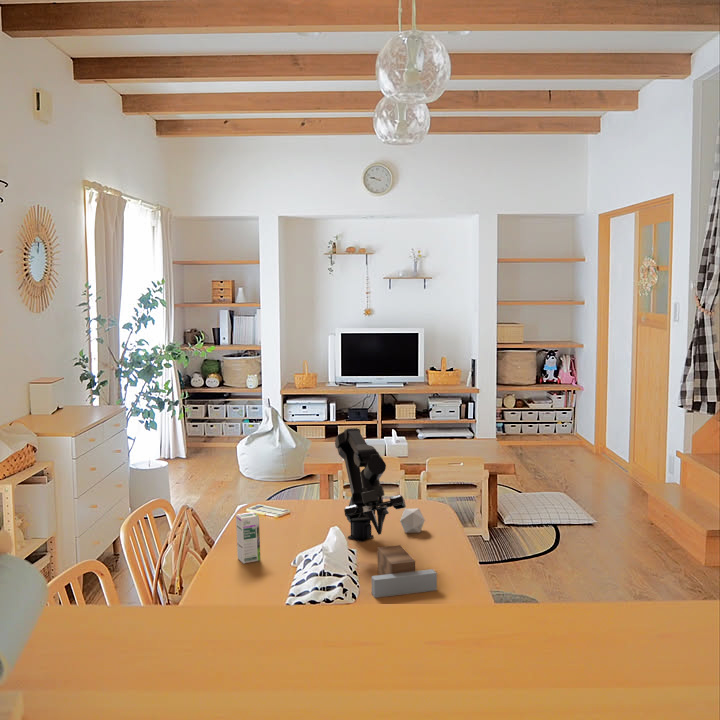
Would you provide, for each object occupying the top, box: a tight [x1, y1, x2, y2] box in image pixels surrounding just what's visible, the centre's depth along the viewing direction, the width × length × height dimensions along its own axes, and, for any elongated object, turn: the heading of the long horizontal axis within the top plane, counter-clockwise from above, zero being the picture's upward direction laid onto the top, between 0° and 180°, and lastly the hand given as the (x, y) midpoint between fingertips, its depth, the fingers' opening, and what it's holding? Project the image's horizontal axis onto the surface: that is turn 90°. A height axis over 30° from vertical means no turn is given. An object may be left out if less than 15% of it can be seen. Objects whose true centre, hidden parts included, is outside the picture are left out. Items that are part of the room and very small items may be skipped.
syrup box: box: [235, 511, 261, 564], centre depth 239 cm, size 6×6×14 cm
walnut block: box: [377, 544, 416, 575], centre depth 221 cm, size 14×7×8 cm, turn 15°
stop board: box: [371, 568, 438, 599], centre depth 213 cm, size 3×18×5 cm, turn 105°
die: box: [399, 507, 426, 534], centre depth 264 cm, size 8×9×10 cm
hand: (379, 534), depth 236 cm, fingers closed
